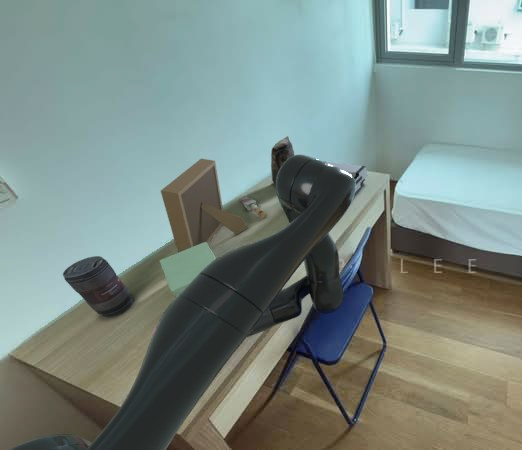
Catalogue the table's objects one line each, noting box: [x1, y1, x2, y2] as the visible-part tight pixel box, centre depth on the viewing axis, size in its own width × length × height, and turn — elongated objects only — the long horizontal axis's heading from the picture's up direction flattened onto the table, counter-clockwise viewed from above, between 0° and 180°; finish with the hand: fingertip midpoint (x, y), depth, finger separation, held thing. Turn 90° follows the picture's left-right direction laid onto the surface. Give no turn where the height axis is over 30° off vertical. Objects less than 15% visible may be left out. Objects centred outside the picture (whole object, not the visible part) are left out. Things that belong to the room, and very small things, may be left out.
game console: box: [322, 160, 368, 197], centre depth 124 cm, size 21×32×8 cm, turn 161°
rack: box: [159, 242, 217, 298], centre depth 86 cm, size 16×12×8 cm
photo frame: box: [160, 158, 248, 253], centre depth 99 cm, size 15×22×25 cm
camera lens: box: [62, 255, 134, 318], centre depth 78 cm, size 8×8×15 cm
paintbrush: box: [238, 196, 267, 219], centre depth 121 cm, size 4×3×20 cm
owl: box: [270, 135, 295, 186], centre depth 132 cm, size 13×13×20 cm
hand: (159, 349), depth 61 cm, fingers closed on pink box, 4 cm apart
